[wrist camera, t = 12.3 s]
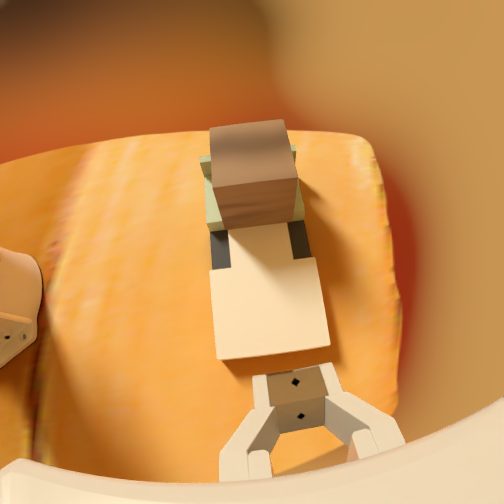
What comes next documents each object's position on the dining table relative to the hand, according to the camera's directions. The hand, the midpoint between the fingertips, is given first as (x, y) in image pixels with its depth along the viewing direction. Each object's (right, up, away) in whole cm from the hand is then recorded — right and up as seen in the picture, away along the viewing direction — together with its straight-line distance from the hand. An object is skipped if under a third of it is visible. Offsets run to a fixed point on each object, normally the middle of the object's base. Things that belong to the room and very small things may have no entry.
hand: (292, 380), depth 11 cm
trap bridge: (0, +4, +27) cm, 28 cm away
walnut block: (-1, +12, +27) cm, 29 cm away
